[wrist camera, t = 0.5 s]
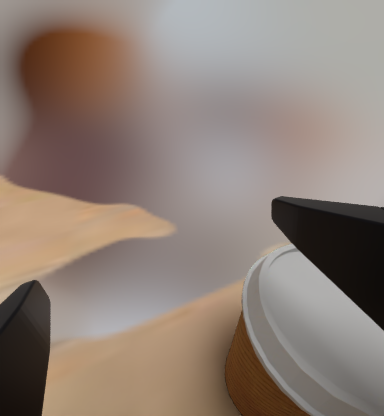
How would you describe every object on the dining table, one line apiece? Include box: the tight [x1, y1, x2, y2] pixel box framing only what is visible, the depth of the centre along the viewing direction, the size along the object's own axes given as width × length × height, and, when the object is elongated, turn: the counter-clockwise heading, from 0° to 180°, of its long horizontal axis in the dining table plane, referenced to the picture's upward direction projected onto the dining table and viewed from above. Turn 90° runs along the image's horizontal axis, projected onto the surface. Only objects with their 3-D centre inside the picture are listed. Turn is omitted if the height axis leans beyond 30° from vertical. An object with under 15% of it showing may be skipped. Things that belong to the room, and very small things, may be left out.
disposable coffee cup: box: [225, 244, 384, 416], centre depth 16 cm, size 10×10×12 cm
